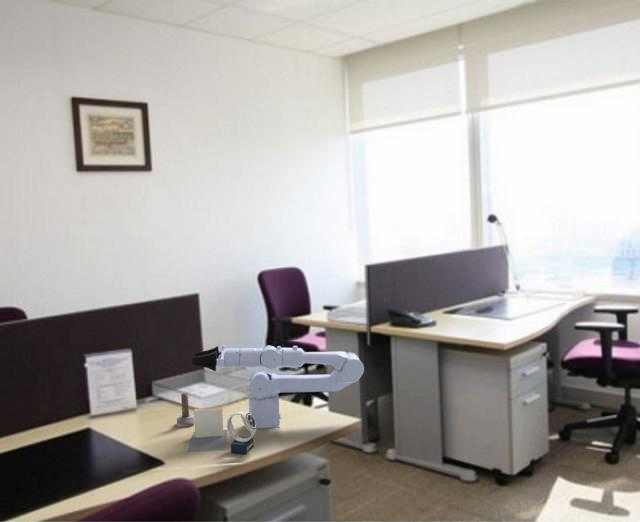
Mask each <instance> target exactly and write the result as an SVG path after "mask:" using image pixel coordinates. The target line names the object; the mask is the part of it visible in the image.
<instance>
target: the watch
mask: <svg viewBox="0 0 640 522" xmlns="http://www.w3.org/2000/svg"><path fill="white" fill-rule="evenodd" d="M234 416H240V418H241V419H242V423H243V425H244V427H245V428H246V430H247V431H248V432H249V433H250V436H239V435H238V432H237V430H236V429H235V427H234V425H233V422H232V420H233V417H234ZM257 429H258V428H257V422H256V420H255V418H254V416H253V415H252V414H251V413H249V411H245V410H238V411H236V412H234V413H233V414H231V415H230V416H229V417H228V419H227V423H226V430H228V431H227V432H228V433H229V435H230V437H231V439H232V440H233V441H232V442H231V443H230V453H231V454H234V455H248V454H249V452H250V451H251V450H252V449H253V448H254V445H255V443H254V436H255V434H256V432H257Z"/></svg>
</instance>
